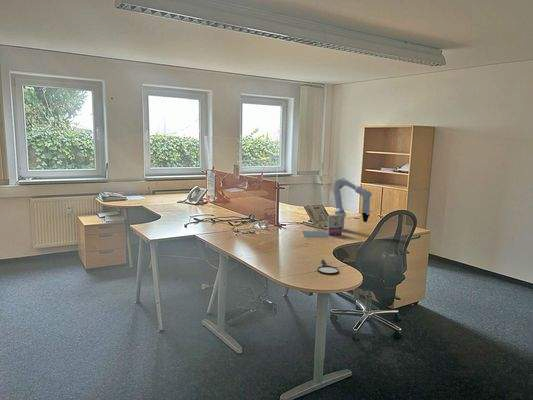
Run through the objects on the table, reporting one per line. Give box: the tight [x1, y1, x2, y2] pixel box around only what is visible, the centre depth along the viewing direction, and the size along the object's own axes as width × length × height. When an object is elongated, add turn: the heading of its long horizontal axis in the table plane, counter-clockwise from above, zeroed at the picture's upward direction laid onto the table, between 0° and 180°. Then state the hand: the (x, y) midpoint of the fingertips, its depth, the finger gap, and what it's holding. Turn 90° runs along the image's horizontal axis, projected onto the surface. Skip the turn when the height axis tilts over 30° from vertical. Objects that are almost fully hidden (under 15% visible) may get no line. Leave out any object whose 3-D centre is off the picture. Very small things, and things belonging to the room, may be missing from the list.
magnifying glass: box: [316, 259, 340, 276], centre depth 247 cm, size 12×24×2 cm, turn 2°
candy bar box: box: [326, 214, 342, 237], centre depth 332 cm, size 11×5×16 cm, turn 105°
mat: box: [302, 230, 329, 239], centre depth 334 cm, size 20×19×1 cm
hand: (365, 221), depth 337 cm, fingers closed
